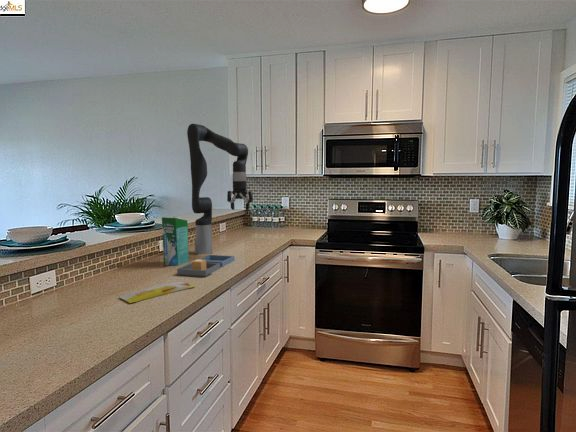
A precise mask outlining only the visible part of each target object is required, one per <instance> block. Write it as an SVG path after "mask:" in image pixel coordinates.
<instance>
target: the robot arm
mask: <svg viewBox="0 0 576 432" xmlns="http://www.w3.org/2000/svg"><path fill="white" fill-rule="evenodd" d="M186 131H187V132H186V135H187V143H188V147H189V157H190V158H189V159H190V174H191V208H192V209H191V210H192V211H193V213H194V214H203V215H202V216H200V218H197V219H195V223H194V224H195V237H194V255H212V254H213V231H212V226H213V225H212V220H213V201H212V199H211V198H210V196H209V197H208V196H205V197H203V196H201V197H200V192H201V188H202V186H203V184H204V182H205V181H206V179H207V176H208V164H207V161H206V158H205V156H204V154H203V153H202V152H203V151H202V150H201V147H200V142H207V143H210V144H212V145H214V146H215V147H216V148H218V149H219V150H222V151H224V152H226V153H227V154H228V155H231V156H233V157H237V158H236V160H235V161H233V162H232V190H228V191H227V198H226V201H227V203H230V209H231V210H232V211H233V210H235V202H236V200H238V199H239V200H243V201H244V202H245V210H246V211H249V210H250V204H251V203H253V202H254V201H253V200H254V199H253V198H254V197H253V191H251V190H249V191H248V189H247V180H248V178H247V173H246V172H247V167H246V165H247V162H248V155H249V148H248V146H247V144H245V143H239V142H234V141H233V140H232V139H231V138H228V137H226V136H223V135H221V134H218V133H216V132H215V131H213V130H211V129H210V128H208V127H206V126H205V125H202V124H197V123H190V124H189V125H188V127H187V130H186ZM232 196H233V197H232Z"/></svg>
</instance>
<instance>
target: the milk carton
mask: <svg viewBox="0 0 576 432" xmlns="http://www.w3.org/2000/svg"><path fill="white" fill-rule="evenodd" d="M188 223H189V222H188V220H186V219H183V218H182V217H180V216H173V217H161V225H162V226H161V229H162V230H161V231H162V251H163V253H162V254H163V266H168V267H171V266H175V267H177V266H181V265H184V264H185V265H186V264H189V263H190V252H189V229H188Z"/></svg>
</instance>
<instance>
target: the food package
mask: <svg viewBox="0 0 576 432" xmlns="http://www.w3.org/2000/svg"><path fill="white" fill-rule="evenodd" d="M195 287H196V285H193V284H191V283H187V282H184V281H180V282H179V281H178V282H170V283H166V284H162V285H157V286H153V287H150V288H149V287H148V288H145V289H141V290H137V291H133V292H131V293H128V294H124V295H122V296H118V298H120V299H121V300H123V301H125V302H127V303H129V304H132V303H137V302H141V301H145V300H149V299H154V298H156V297H161V296H164V295H168V293H169V294H172V293H176V292H181V291H186V290H190V289H192V288H195Z"/></svg>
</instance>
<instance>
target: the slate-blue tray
mask: <svg viewBox="0 0 576 432" xmlns="http://www.w3.org/2000/svg"><path fill="white" fill-rule="evenodd" d="M200 259H201V260H206V263H220V268H224V267H226V266H227V265H230V264H231V263H233V262H235V255H222V254H221V255H219V254H207V256H204V257H202V258H200Z"/></svg>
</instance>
